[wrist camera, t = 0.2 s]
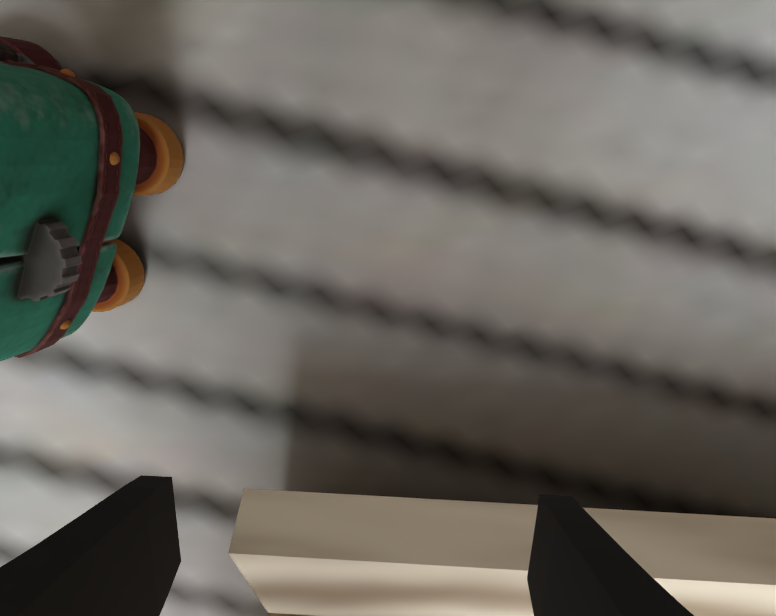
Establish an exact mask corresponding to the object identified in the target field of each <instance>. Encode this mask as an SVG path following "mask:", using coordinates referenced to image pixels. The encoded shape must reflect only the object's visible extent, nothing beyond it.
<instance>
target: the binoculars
mask: <svg viewBox="0 0 776 616" xmlns="http://www.w3.org/2000/svg"><path fill="white" fill-rule="evenodd" d="M183 161H184V158H183V150H182V147H181V144H180V141H179V140H178V138H177V136H176V135H175V133H174V132H173V131H172V130H171V128H170V127H169V126H168V125H166V124H165V123H164V122H163V121H161V120H160V119H158V118H156V117H154V116H151V115H148V114H144V113H138V112H134V111H133V109H132V108H131V106H130V105H129V104H128V103H127V102H126V101H125V100H124V99H123V97H121V96H120V95H118V94H117V93H115V92H114V91H112V90H109V89H107V88H105V87H102V86H100V85H98V84H95V83H93V82H91V81H87V80H84V79H81V78H79V77H76V76H75V74H74V73H73V72H72V71H71V70H69V69H62V67H61V66H60V65H59V63H58V62H57V61H56V60H55V59H54V58H53V57H52V56H51V55H50V54H49V53H48V52H47V51H46V50H44V49H43V48H41V47H40V46H38V45H36V44H34V43H31V42H28V41H23V40H17V39H12V38H6V37H0V361H2V360H5V359H8V358H11V357H14V356H15V357H19V358H20V357H23V356H26V355H29V354H32V353H35V352H37V351H40V350H42V349H44V348H47V347H49V346H51V345H53V344H55V343H56V342H57V341H58V340H59V339H60V338H63V337H65V336H68V335H70V334H72V333H73V332H75V331H76V330H77V329H78V328H79V327H80V326H81V325H82V324H83V323H84V321H85V320H86V319H87V317H88V316H89V314H90V313H91V311H94V312H103V311H108V310H111V309H113V308H116V307H118V306H120V305H123V304H125V303H127V302H129V301H131V300H133V299H134V298H135V297H136V296H137V295H138V294H139V293H140V291H141V289H142V287H143V284H144V277H145V273H144V268H143V265H142V263H141V260H140V258H139V257H138V255H137V254H136V253H135V251H134V250H132V249H131V248H130V247H129V246H128V245H127V244H125V243H124V242H122V241H120V240H118V239H115V238H118V237H119V236H120V235H121V233H122V230H123V227H124V224H125V221H126V218H127V215H128V212H129V209H130V205H131V202H132V198H133V196H135V195H153V194H158V193H162V192H164V191H166V190H168V189H169V188H170V187H171V186H173V185H174V184H175V183H176V181H177V180H178V178H179V177H180V174H181V172H182V169H183Z"/></svg>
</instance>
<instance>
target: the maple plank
mask: <svg viewBox="0 0 776 616" xmlns="http://www.w3.org/2000/svg"><path fill="white" fill-rule="evenodd" d="M537 509H538V505H527V504H510V503H492V502H474V501H457V500H439V499H422V498H404V497H386V496H369V495H351V494H333V493H316V492H298V491H280V490H263V489H245V488H244V490H243V495H242V499H241V503H240V507H239V511H238V515H237V519H236V523H235V527H234V532H233V536H232V540H231V544H230V548H229V552H228V554H229V555H230V557H231V558H232V560H233V561H234V563H235V564H236V566H237V567H238V569H239V570H240V572H241V573H242V575H243V576H244V578H245V579H246V581H247V582H248V584H249V585H250V587H251V588H252V590H253V591H254V593H255V594H256V596H257V597H258V599H259V600H260V601H261V603H262V604H263V606H264V607H265V609H266V610H267V612H268V613H280V614H296V615H313V616H534V613H533V608H532V603H531V598H530V592H529V587H528V582H527V575H528V568H529V562H530V555H531V548H532V542H533V535H534V528H535V522H536V515H537ZM583 509H584V510H585V511H586V512H587V513H588V514H589V515H590V516H591V517H592V518H593V519H594V520H595V521H596V522H597V523H598V524H599V525H600V526H601V527H602V528H603V529H604V530H605V531H606V532H607V533H608V534H609V535H610V536H611V537H612V538H613V539H614V540H615V541H616V542H617V543H618V544H619V545H620V546H621V547H622V548H623V549H624V550H625V551H626V552H627V553H628V554H629V555H630V556H631V557H632V558H633V559H634V560H635V561H636V562H637V563H638V564H639V565H640V566H641V567H642V568H643V569H644V570H645V571H646V572H647V573H648V574H649V575H650V576H651V577H652V578H654V579H655V580H656V581H657V582H658V583H659V584H660V585H661V586H662V587H663V588H664V589H665V590H666V591H667V592H668V593H670V594H671V595H672V596H673V597H674V598H675V599H676V600H677V601H678V602H679V603H680V604H682V605H683V606H684V607H685V608H686V609H687V610H688V611H689V612H691V613H692V614H693V615H694V616H776V519H774V518H757V517H739V516H722V515H704V514H686V513H669V512H651V511H633V510H616V509H598V508H583Z"/></svg>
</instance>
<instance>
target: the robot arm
mask: <svg viewBox="0 0 776 616" xmlns="http://www.w3.org/2000/svg"><path fill="white" fill-rule="evenodd" d="M180 562H181V557H180V548H179V539H178V530H177V520H176V511H175V502H174V493H173V484H172V477H159V476H140V477H138V478H136V479H135V480H133V481H132V482H130V483H128V484H127V485H125V486H124V487H122V488H121V489H119V490H118V491H116V492H115V493H113V494H112V495H110V496H109V497H107V498H106V499H104V500H103V501H101V502H100V503H98V504H97V505H95V506H94V507H92V508H91V509H89V510H88V511H86V512H85V513H83V514H82V515H81V516H79V517H78V518H76V519H75V520H73V521H72V522H70V523H69V524H67V525H66V526H64V527H63V528H61V529H60V530H58V531H57V532H55V533H54V534H52V535H51V536H49V537H48V538H46V539H45V540H43V541H42V542H40V543H39V544H37V545H35V546H34V547H32V548H31V549H29V550H28V551H26V552H24V553H23V554H21V555H20V556H18V557H16V558H15V559H13V560H11V561H10V562H8V563H7V564H5V565H3V566H2V567H0V616H159V615H160V613H161V610H162V608H163V606H164V603H165V601H166V598H167V596H168V593H169V591H170V588H171V586H172V583H173V581H174V578H175V575H176V573H177V570H178V567H179V565H180ZM527 582H528V587H529V592H530V598H531V603H532V608H533V613H534V616H694V615H693V614H692V613H691V612H689V611H688V610H687V609H686V608H685V607H684V606H683V605H682V604H680V603H679V602H678V601H677V600H676V599H675V598H674V597H673V596H672V595H671V594H670V593H668V592H667V591H666V590H665V589H664V588H663V587H662V586H661V585H660V584H659V583H658V582H657V581H656V580H655V579H654V578H652V577H651V576H650V575H649V574H648V573H647V572H646V571H645V570H644V569H643V568H642V567H641V566H640V565H639V564H638V563H637V562H636V561H635V560H634V559H633V558H632V557H631V556H630V555H629V554H628V553H627V552H626V551H625V550H624V549H623V548H622V547H621V546H620V545H619V544H618V543H617V542H616V541H615V540H614V539H613V538H612V537H611V536H610V535H609V534H608V533H607V532H606V531H605V530H604V529H603V528H602V527H601V526H600V525H599V524H598V523H597V522H596V521H595V520H594V519H593V518H592V517H591V516H590V515H589V514H588V513H587V512H586V511H585V510H584V509H583V508H582V507H581V506H580V505H579V504H578V503H577V502H576V501H575V500H574V499H573V498H572V497H571V496H551V495H539V502H538V509H537V515H536V522H535V528H534V535H533V542H532V548H531V555H530V562H529V568H528V575H527Z"/></svg>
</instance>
